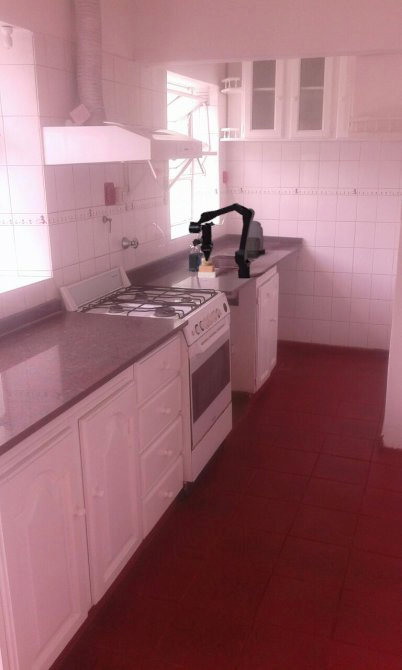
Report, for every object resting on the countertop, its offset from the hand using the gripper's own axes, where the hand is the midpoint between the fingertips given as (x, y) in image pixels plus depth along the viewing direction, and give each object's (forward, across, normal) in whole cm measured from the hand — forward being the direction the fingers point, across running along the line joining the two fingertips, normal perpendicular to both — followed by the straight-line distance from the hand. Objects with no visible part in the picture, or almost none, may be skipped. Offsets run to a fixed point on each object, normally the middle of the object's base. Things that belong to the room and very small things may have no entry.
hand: (207, 260), depth 361 cm
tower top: (+6, 0, 0) cm, 7 cm away
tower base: (+10, 0, 0) cm, 10 cm away
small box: (+10, -21, -8) cm, 25 cm away
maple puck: (+3, 0, 0) cm, 3 cm away
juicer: (+10, -84, +26) cm, 88 cm away
